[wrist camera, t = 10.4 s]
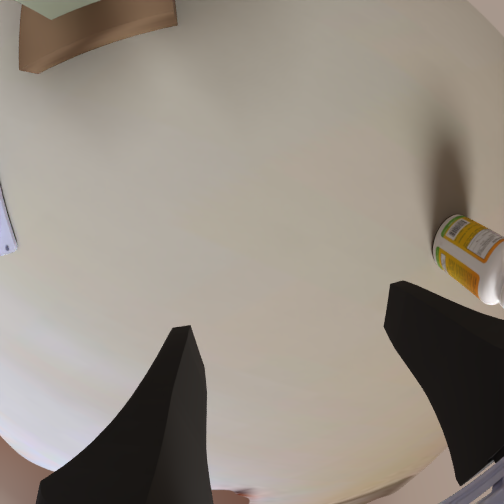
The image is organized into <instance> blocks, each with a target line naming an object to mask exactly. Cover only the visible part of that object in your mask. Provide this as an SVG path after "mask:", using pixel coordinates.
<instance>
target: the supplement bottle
mask: <svg viewBox="0 0 504 504" xmlns="http://www.w3.org/2000/svg"><path fill="white" fill-rule="evenodd" d="M433 256H434V260H435V262H436V264H437V265H438V266H439V267H440V268H441V269H443V270H444V271H445V272H446V273H448V274H449V275H450V276H452V277H453V278H454V279H455V280H457V281H458V282H459V283H461V284H462V285H463V286H464V287H465V288H467V289H468V290H469V291H470V292H472V293H473V294H474V295H475V296H476V297H478V298H479V299H480V300H481V301H483V302H484V303H486V304H488V305H494V304H497V303H499V302H500V305H501V306H502V307H503V308H504V237H503V236H501V235H499V234H497V233H496V232H494V231H492V230H490V229H488V228H486V227H485V226H483V225H481V224H479V223H477V222H475V221H473V220H471V219H469V218H467V217H465V216H463V215H453V216H451V217H449V218H448V219H447V220H446V221H445V222H444V223H443V224H442V225H441V227H440V228H439V230H438V232H437V234H436V237H435V240H434V245H433Z"/></svg>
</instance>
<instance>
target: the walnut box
mask: <svg viewBox="0 0 504 504" xmlns="http://www.w3.org/2000/svg"><path fill="white" fill-rule="evenodd" d="M177 25H178V23H177V14H176V5H175V0H100V1H97V2H94V3H91V4H89V5H86V6H83V7H81V8H78V9H76V10H73V11H71V12H68V13H66V14H64V15H61V16H59V17H57V18H55V19H52V20H50V19H48V18H47V17H45V16H43V15H41V14H40V13H38V12H36V11H34V10H32V9H30V8H29V7H27V6H25V5H23V4H22V8H21V19H20V34H19V70H21V71H26V72H31V73H36V74H39V73H41V72H43V71H45V70H47V69H49V68H51V67H53V66H55V65H57V64H59V63H62V62H64V61H66V60H68V59H71V58H73V57H75V56H78V55H80V54H83V53H85V52H88V51H90V50H93V49H95V48H98V47H101V46H104V45H107V44H110V43H113V42H116V41H119V40H122V39H125V38H128V37H132V36H135V35H139V34H143V33H146V32H150V31H154V30H158V29H163V28H167V27H172V26H177Z"/></svg>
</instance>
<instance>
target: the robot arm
mask: <svg viewBox="0 0 504 504" xmlns="http://www.w3.org/2000/svg"><path fill="white" fill-rule="evenodd" d="M7 245H8V246H9V248H8V247H7ZM16 250H17V242H16V240H15V237H14V234H13V231H12V227H11V224H10V221H9V218H8V214H7V211H6V207H5V203H4V200H3V196H2V192H1V187H0V256H2V255H6V254H9V253H12V252H14V251H16ZM384 328H385V330H386V333H387V335H388V337H389V339H390V340H391V342H392V344H393V346H394V348H395V349H396V351H397V352H398V354H399V355H400V357H401V358H402V359H403V361H404V362H405V364H406V365H407V367H408V368H409V369H410V371H411V372H412V374H413V375H414V377H415V378H416V380H417V381H418V382H419V384H420V385H421V387H422V388H423V390H424V392H425V393H426V395H427V397H428V399H429V401H430V403H431V405H432V407H433V409H434V411H435V413H436V416H437V418H438V420H439V423H440V425H441V428H442V430H443V433H444V435H445V438H446V441H447V444H448V447H449V450H450V454H451V458H452V462H453V466H454V471H455V477H456V480H457V481H458V483H459V485H460V486H462V485H463V484H465V483H466V482H468V481H469V480H470V479H472V478H473V477H475V476H476V475H477V474H479V473H480V472H481V471H483V470H484V469H485V468H486V467H488V466H489V465H490V464H492V463H493V462H495V463H496V464H495V465H493V466H492V467H491V468H490V469H488V470H487V471H486V472H484V473H483V474H482V475H480V476H479V477H478V478H476V479H475V480H474V481H472V482H471V483H470V484H468V485H467V486H465V487H464V488H462V489H461V490H459V491H458V492H457V493H455V494H453V495H452V496H450V497H449V498H447V499H445V500H444V501H442V502H440V503H439V504H469V503H470V502H472V501H473V500H475V499H476V498H477V497H479V496H480V495H481V494H482V493H484V492H485V491H486V490H488V489H489V488H490V487H491V486H493V487H492V492H491V493H490V494H488V495H487V496H485V497H484V498H482V499H481V500H480V501H478V502H477V503H475V504H504V320H501V319H498V318H495V317H492V316H488V315H485V314H482V313H480V312H477V311H474V310H472V309H469V308H467V307H464V306H462V305H460V304H457V303H455V302H453V301H450V300H448V299H446V298H444V297H441V296H439V295H437V294H435V293H433V292H430V291H428V290H426V289H424V288H422V287H419V286H417V285H414V284H412V283H409V282H406V281H399V282H396V283H392V284H390V290H389V297H388V304H387V310H386V316H385V322H384ZM206 416H207V388H206V378H205V368H204V364H203V361H202V359H201V356H200V353H199V350H198V347H197V344H196V341H195V338H194V335H193V331H192V328H191V325H188V326H182V327H175V328H172V330H171V331H170V333H169V335H168V337H167V339H166V341H165V342H164V344H163V346H162V348H161V350H160V351H159V353H158V355H157V357H156V359H155V360H154V362H153V364H152V365H151V367H150V369H149V370H148V372H147V374H146V375H145V377H144V378H143V380H142V381H141V383H140V384H139V386H138V387H137V389H136V390H135V392H134V394H133V395H132V396H131V398H130V399H129V400H128V402H127V403H126V405H125V406H124V407H123V408H122V410H121V411H120V412H119V413H118V415H117V416H116V417H115V418H114V419H113V421H112V422H111V423H110V424H109V425H108V426H107V427H106V428H105V429H104V430H103V431H102V432H101V433H100V434H99V435H98V437H97V438H96V439H95V440H94V441H93V442H92V443H90V444H89V445H88V446H87V447H86V448H85V449H84V450H83V451H82V452H80V453H79V454H78V455H77V456H76V457H74V458H73V459H72V460H71V461H69V462H68V463H67V464H65V465H64V466H63V467H61V468H60V469H58V470H57V471H55V472H54V473H52V474H51V475H49V476H48V477H46V478H45V479H43V480H42V481H41V482H40V485H39V490H38V495H37V500H36V504H213V498H212V492H211V486H210V479H209V472H208V464H207V453H206Z"/></svg>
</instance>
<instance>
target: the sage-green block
mask: <svg viewBox="0 0 504 504" xmlns="http://www.w3.org/2000/svg"><path fill="white" fill-rule="evenodd" d="M15 1H17V2H19V3H21V4H23V5H25V6H27V7H29V8H30V9H32V10H34V11H36V12H38V13H40V14H41V15H43V16H45V17H47V18H48V19H50V20H52V19H55V18H57V17H59V16H61V15H64V14H66V13H68V12H71V11H73V10H76V9H78V8H81V7H83V6H86V5H89V4H91V3H94V2H97V1H100V0H15Z"/></svg>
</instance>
